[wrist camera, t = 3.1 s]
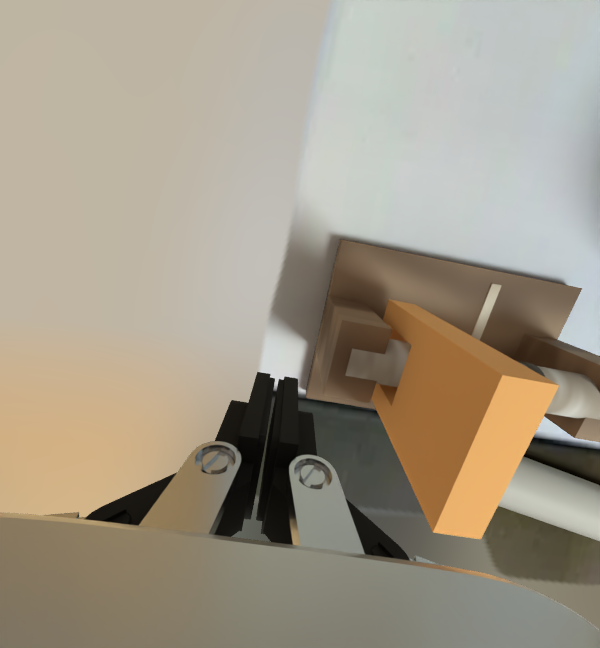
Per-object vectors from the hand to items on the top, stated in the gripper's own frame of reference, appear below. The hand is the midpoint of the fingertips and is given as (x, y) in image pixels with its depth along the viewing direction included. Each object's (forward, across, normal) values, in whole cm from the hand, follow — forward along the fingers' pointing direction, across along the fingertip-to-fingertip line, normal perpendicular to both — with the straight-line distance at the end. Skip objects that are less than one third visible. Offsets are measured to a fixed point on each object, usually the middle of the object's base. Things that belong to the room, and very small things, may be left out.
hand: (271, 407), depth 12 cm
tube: (+14, -31, +13) cm, 36 cm away
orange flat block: (+10, -8, 0) cm, 13 cm away
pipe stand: (+14, -13, 0) cm, 19 cm away
